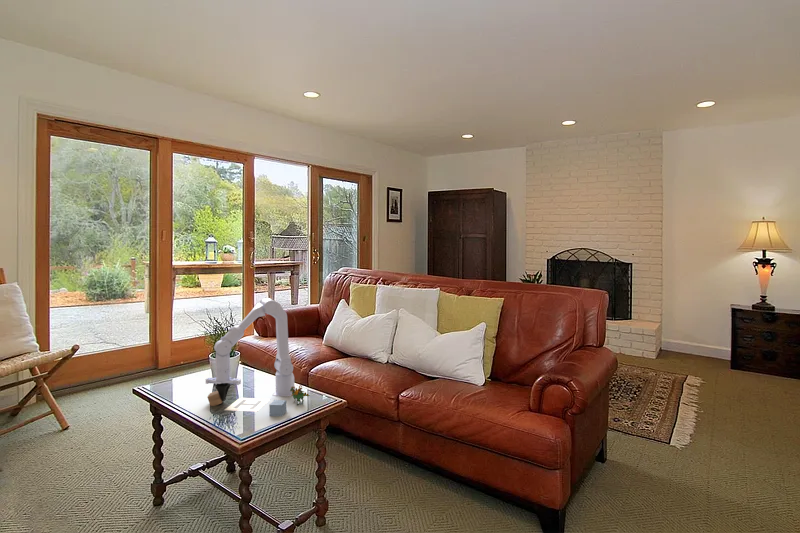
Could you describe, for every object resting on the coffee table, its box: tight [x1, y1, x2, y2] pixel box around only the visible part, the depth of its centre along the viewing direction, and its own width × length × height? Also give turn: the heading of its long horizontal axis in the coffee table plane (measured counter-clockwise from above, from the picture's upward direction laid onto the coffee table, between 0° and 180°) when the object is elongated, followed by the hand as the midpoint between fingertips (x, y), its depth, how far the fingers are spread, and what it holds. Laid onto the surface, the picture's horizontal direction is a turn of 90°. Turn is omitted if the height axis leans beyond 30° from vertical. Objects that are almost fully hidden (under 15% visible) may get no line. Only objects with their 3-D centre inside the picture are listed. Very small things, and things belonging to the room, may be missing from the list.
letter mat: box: [224, 397, 271, 413], centre depth 186 cm, size 14×14×1 cm
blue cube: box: [269, 399, 287, 417], centre depth 176 cm, size 5×5×5 cm
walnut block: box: [207, 390, 224, 407], centre depth 186 cm, size 4×4×4 cm
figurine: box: [289, 384, 311, 406], centre depth 188 cm, size 3×12×8 cm, turn 55°
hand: (223, 400), depth 187 cm, fingers closed, pressing on walnut block
